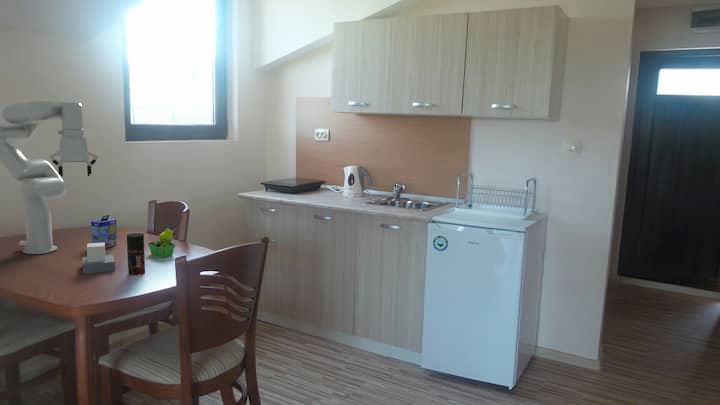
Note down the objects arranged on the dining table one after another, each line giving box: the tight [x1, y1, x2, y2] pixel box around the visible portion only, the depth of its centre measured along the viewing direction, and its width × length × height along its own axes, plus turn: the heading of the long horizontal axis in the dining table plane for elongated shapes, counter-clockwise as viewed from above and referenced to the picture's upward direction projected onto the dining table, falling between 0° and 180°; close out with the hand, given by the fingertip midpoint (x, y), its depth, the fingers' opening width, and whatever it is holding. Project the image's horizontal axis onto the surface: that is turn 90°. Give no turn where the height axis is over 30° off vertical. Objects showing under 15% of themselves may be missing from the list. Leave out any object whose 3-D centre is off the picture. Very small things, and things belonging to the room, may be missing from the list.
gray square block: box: [81, 254, 116, 275], centre depth 206 cm, size 11×11×4 cm
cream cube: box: [86, 242, 106, 262], centre depth 205 cm, size 6×6×6 cm
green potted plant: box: [147, 228, 176, 259], centre depth 227 cm, size 11×9×11 cm
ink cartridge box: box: [90, 214, 118, 249], centre depth 238 cm, size 10×6×14 cm, turn 158°
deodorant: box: [126, 232, 146, 276], centre depth 200 cm, size 6×6×15 cm
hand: (75, 176), depth 214 cm, fingers open, 9 cm apart
